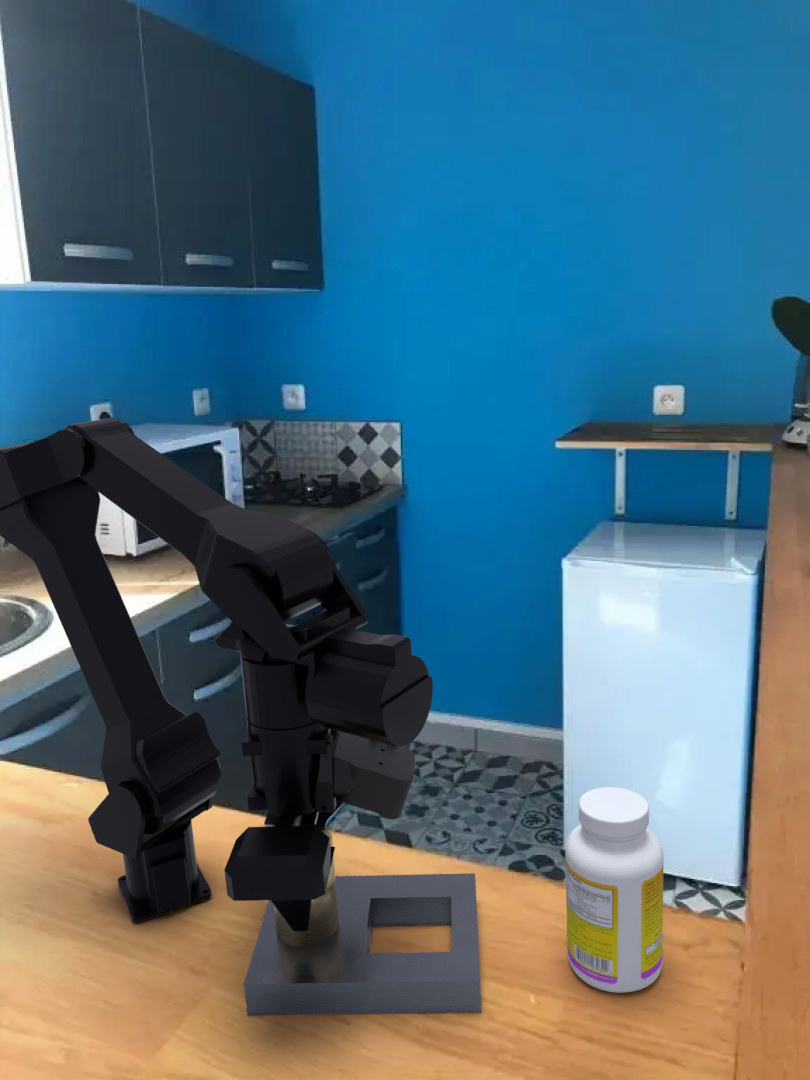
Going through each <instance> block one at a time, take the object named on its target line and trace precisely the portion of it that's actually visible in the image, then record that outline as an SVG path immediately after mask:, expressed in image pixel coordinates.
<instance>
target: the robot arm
mask: <svg viewBox="0 0 810 1080" xmlns="http://www.w3.org/2000/svg"><path fill="white" fill-rule="evenodd" d="M100 495H102V496H103V497H105V498H106V499H107V500H109V501H110V502H111V503H113V504H114V505H116V507H118V508H119V509H121V510H122V511H123V512H125V513H126V514H127V515H129V516H130V517H131V518H133V519H134V520H135V521H137V522H138V523H139V524H141V525H142V526H143V527H145V528H146V529H147V530H149V531H150V532H151V533H152V534H154V535H155V536H157V537H158V538H159V539H160V540H162V541H164V542H165V544H167V545H168V546H170V547H172V548H173V549H174V550H175V551H176V552H178V553H179V554H181V555H183V557H184V558H185V559H187V560H188V562H190V563H191V565H192V566H193V567H194V568H195V573H196V576H197V580H198V584H199V586H200V589H201V592H202V593H203V594H204V595H205V596H206V597H207V598H208V599H209V601H210V602H212V603H213V604H214V605H215V606H216V607H217V608H218V609H219V610H220V611H221V612H222V613H223V614H224V615H225V616H226V617H227V618H228V620H229V621H230V623H229V625H228V626H227V627H226V628H225V629H224V630H223V631H222V632H221V633H220V634H219V635H218V636H216V637H215V640H214V642H215V645H216V646H217V647H218V648H221V649H226V650H230V651H234V652H238V653H239V654H240V655H239V656H240V657H239V659H240V666H241V677H242V686H243V695H244V704H245V706H244V707H245V713H246V714H245V715H246V723H247V725H246V726H247V730H246V732H245V734H244V736H243V738H242V740H241V749H242V756H243V757H249V756H250V763H251V773H252V781H253V782H252V784H251V787H250V789H249V792H248V794H247V799H246V800H247V806H248V811H266V812H267V814H266V816H265V820H264V822H263V823H264V824H263V825H264V826H248V827H247V828H246V829H245V830H244V831H243V832H242V833H241V834H240V835H239V836H238V837H237V838H236V839H235V841H234V844H233V847H232V849H231V852H230V854H229V857H228V859H227V862H226V865H225V867H224V868H223V869H224V877H225V878H224V879H225V888H226V895H227V897H228V898H230V899H231V900H232V901H233V902H241V901H242V902H244V901H245V902H249V901H250V902H251V901H253V902H255V901H256V902H257V901H268V900H271V902H272V903H273V904H274V906H275V907H276V908H277V910H278V911H279V913H280V914H281V915H282V917H283V918H284V919H285V921H286V922H287V923H288V925H289V926H290V927H291V929H292V930H293V931H307V930H308V928H309V921H310V913H311V904H312V899H317V898H318V897H320V896H322V895H324V894H325V892H326V887H327V882H328V877H329V872H330V868H331V864H332V859H333V855H334V854H335V849H336V847H335V846H333V847H330V838H329V837H328V836H327V835H326V834H324V833H323V828H322V827H324V828H326V829H327V825H328V821H329V819H330V818H331V817H332V816H333V814H335V813H336V812H337V810H338V809H340V807H342V806H343V804H346V805H349V806H352V807H355V808H360V809H363V810H366V811H369V812H373V813H376V814H378V816H379V817H380V818H384V819H386V820H397V819H399V818H400V817H401V816H402V812H403V809H404V806H405V803H406V801H407V798H408V795H409V792H410V790H411V786H412V783H413V780H414V778H415V777H414V776H415V765H416V764H415V763H416V755H415V753H414V752H413V751H412V750H411V744H412V743H413V742H414V741H415V740H416V738H417V737H418V736H420V734H421V731H422V730H423V728H424V727H425V724H426V722H427V720H428V718H429V717H428V716H429V714H430V710H431V707H432V701H433V694H434V693H433V689H434V688H433V686H434V685H433V683H434V682H433V677H432V676H431V675H430V674H429V671H428V667H427V665H426V664H425V662H424V660H423V659H422V658H421V657H419V656H418V655H417V656H416V655H414V654H413V653H412V651H413V650H412V640H411V638H410V637H408V636H405V635H399V634H378V633H373V632H368V631H361V630H357V629H359V628H361V627H363V626H365V625H367V624H368V623H369V621H370V620H369V618H370V617H369V615H368V614H367V613H366V612H367V611H366V610H365V609H364V608H363V606H362V604H361V603H360V601H359V600H358V597H357V595H356V594H355V593H354V591H352V589H351V587H350V586H349V584H348V583H347V580H345V578H344V577H343V575H342V574H341V572H340V570H339V568H338V566H336V564H335V562H334V560H333V559H332V558H331V556H330V548H329V546H328V545H327V543H326V541H324V539H322V538H321V537H320V536H319V535H318V534H317V533H316V532H314V531H312V530H311V529H309V528H306V527H305V526H303V525H300V524H298V523H295V522H293V521H291V520H289V519H287V518H285V517H282V516H280V515H277V514H275V513H267V512H263V511H258V510H253V509H247V508H244V507H242V506H239V505H237V504H235V503H233V502H231V501H230V500H228V499H227V498H226V497H224V496H222V495H221V494H220V493H218V492H217V491H216V490H214V489H213V488H211V487H210V486H209V485H207V484H205V483H204V482H202V480H200V479H198V478H197V477H196V476H194V475H193V474H191V473H190V472H189V471H187V470H185V469H184V468H183V467H181V466H180V465H178V464H176V462H174V461H172V460H171V459H169V458H168V457H167V456H165V455H164V454H162V453H161V452H159V451H158V450H157V449H156V448H153V447H152V446H151V445H149V444H148V443H146V442H145V441H143V439H141V438H140V437H138V436H137V435H136V434H135V433H134V431H133V428H132V427H131V426H130V425H129V424H128V423H127V422H125V421H123V420H121V419H119V420H118V419H116V418H113V417H112V418H111V417H109V418H103V419H95V420H90V421H84V422H78V423H72V424H68V425H66V426H65V427H64V428H63V429H59V430H58V431H56V432H54V433H52V434H50V435H49V436H46V437H44V438H42V439H39V440H36V441H31V442H25V443H21V444H16V445H9V446H4V447H0V537H1V538H3V539H4V540H6V542H8V543H9V544H11V545H13V547H15V548H16V549H17V550H18V551H21V552H22V553H23V554H24V555H25V556H28V557H29V558H30V559H31V560H32V561H33V562H34V564H35V566H36V569H37V570H38V573H39V575H40V577H41V580H42V582H43V584H44V587H45V589H46V591H47V594H48V596H49V599H50V600H51V602H52V605H53V607H54V609H55V612H56V614H57V617H58V619H59V621H60V624H61V626H62V629H63V631H64V633H65V635H66V637H67V639H68V642H69V644H70V646H71V649H72V651H73V654H74V656H75V658H76V660H77V663H78V665H79V667H80V670H81V672H82V674H83V677H84V679H85V681H86V684H87V686H88V688H89V691H90V693H91V695H92V697H93V700H94V703H95V705H96V707H97V709H98V711H99V714H100V716H101V718H102V721H103V724H104V726H105V735H104V741H103V751H102V757H101V762H100V763H101V764H100V769H101V770H100V771H101V773H102V774H101V775H102V777H103V779H104V784H105V786H106V789H107V793H108V794H107V795H106V797H105V798H104V799H103V800H102V801H101V802H100V803H99V805H98V806H97V807H96V808H95V810H94V811H93V812H92V813H91V814H90V815H89V817H88V819H87V820H88V824H89V827H90V829H91V832H92V835H93V837H94V840H95V842H96V843H97V844H98V845H100V846H104V847H106V848H108V849H111V850H113V851H116V852H118V853H120V854H122V857H123V858H122V859H123V865H124V871H125V874H124V875H121V876H119V877H118V878H117V885H118V888H119V891H120V894H121V896H122V898H123V902H124V904H125V907H126V909H127V912H128V914H129V918H130V919H131V922H132V923H135V924H137V923H141V922H143V921H148V920H150V919H153V918H156V917H159V916H162V915H164V914H168V913H171V912H173V911H177V910H180V909H183V908H186V907H189V906H192V905H194V904H197V903H201V902H204V901H207V900H209V899H211V898H212V896H213V893H212V889H211V886H210V885H209V883H208V880H206V878H205V875H204V874H203V871H202V870H201V868H200V866H199V865H198V862H197V856H196V855H197V854H196V848H195V847H196V846H195V839H194V838H195V837H194V832H193V821H192V820H193V819H195V818H196V817H198V816H200V815H201V814H203V813H204V812H205V811H206V812H207V811H209V810H210V809H212V808H213V805H214V800H215V795H216V792H217V791H218V788H219V783H220V781H221V779H222V777H223V774H222V769H221V765H220V761H219V759H218V758H219V757H220V756H221V752H220V751H219V750H218V748H217V747H216V746H215V743H214V742H213V741H212V738H211V736H210V734H209V731H208V728H207V724H206V721H205V719H204V717H203V716H202V715H201V714H200V713H199V711H193V712H190V713H189V714H186V713H185V712H183V711H182V710H180V709H179V708H178V707H176V706H174V705H173V704H172V703H170V702H169V701H168V700H167V698H166V697H165V695H164V692H163V690H162V687H161V685H160V684H159V683H160V682H159V680H158V679H157V676H156V674H155V672H154V669H153V666H152V664H151V662H150V660H149V658H148V655H147V653H146V651H145V648H144V646H143V644H142V641H141V638H140V637H139V635H138V633H137V630H136V628H135V626H134V623H133V621H132V619H131V616H130V614H129V611H128V608H127V606H126V604H125V603H124V599H123V598H122V596H121V593H120V590H119V589H118V585H117V584H116V581H115V578H114V577H113V575H112V572H111V570H110V567H109V566H108V562H107V560H106V558H105V556H104V554H103V551H102V550H101V547H100V544H99V542H98V540H97V536H96V532H97V525H98V519H99V511H100V507H101V497H100ZM318 606H322V608H323V609H325V611H323V612H321V613H318V614H317V615H314V616H312V617H310V618H308V619H306V620H304V621H302V622H300V623H298V624H296V625H295V624H294V625H293V624H290V623H285V622H286V621H289V620H291V619H293V618H296V617H297V616H300V615H302V614H304V613H306V612H308V611H310V610H312V609H314V608H316V607H318ZM300 824H301V825H300ZM334 856H335V855H334Z"/></svg>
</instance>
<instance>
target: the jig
mask: <svg viewBox="0 0 810 1080" xmlns="http://www.w3.org/2000/svg"><path fill="white" fill-rule="evenodd" d="M335 880H336V892H337V904H338V917H339V926H338V929H337V931H336V932H335V933H334V935H333V936H331V937H330V938H329V939H327V940H326V941H324V942H322V943H319V944H316V945H312V946H304V947H302V946H293V945H290V944H287V943H285V942H284V941H282V940H281V939H280V938H279V937H278V935H277V931H276V921H275V911H274V904H273V903H272V902H271V900H267V903H266V907H265V910H264V914H263V917H262V921H261V924H260V928H259V931H258V935H257V938H256V942H255V945H254V948H253V953H252V955H251V959H250V962H249V966H248V969H247V973H246V976H245V979H244V983H243V988H244V998H245V1006H246V1015H247V1016H283V1015H285V1016H287V1015H288V1016H289V1015H291V1016H294V1015H295V1016H296V1015H298V1016H299V1015H358V1014H359V1015H362V1014H436V1013H437V1014H440V1013H441V1014H446V1013H451V1014H452V1013H454V1014H455V1013H457V1014H458V1013H482V1008H483V1007H482V988H481V986H482V985H481V983H482V981H481V965H480V961H481V960H480V944H479V943H480V941H479V924H478V922H479V921H478V907H477V906H478V905H477V904H478V903H477V883H476V873H473V872H472V873H471V872H470V873H467V872H466V873H439V874H438V873H431V874H430V873H429V874H425V873H424V874H423V873H421V874H382V875H381V874H380V875H375V874H374V875H370V874H369V875H335ZM397 926H399V927H403V926H404V927H405V926H407V927H409V926H411V927H413V926H451V951H422V952H421V951H419V952H418V951H417V952H416V951H415V952H413V951H411V952H371V951H370V950H371V949H370V948H371V943H372V941H371V940H372V934H373V927H397Z"/></svg>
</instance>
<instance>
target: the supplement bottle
mask: <svg viewBox="0 0 810 1080" xmlns="http://www.w3.org/2000/svg"><path fill="white" fill-rule="evenodd" d="M647 801H648V800H646V799H645V797H644V796H642V795H641V794H639V793H637V792H636V791H633V790H631V789H628V788H623V787H617V786H616V787H614V786H606V787H605V786H604V787H597V788H594V789H591V790H588V791H587V792H586V791H585V792H584V794H582V795H581V797H580V798H579V800H578V817H577V818H578V821H579V823H580V824H578V825H577V826H576V827H575V828H573V830H572V831H571V832H570V833H569V835H568V837H567V839H566V841H565V848H564V849H565V850H564V851H565V852H564V853H565V855H564V858H565V861H564V863H565V898H566V899H565V901H566V905H565V907H566V944H567V945H566V947H567V948H566V949H567V958H568V962H569V964H570V967H571V969H572V970H573V972H574V973H575V974H576V975H577V976H578V977H579V979H581V980H582V981H583V982H585V983H586V984H588V985H589V986H591V987H594V989H595V988H596V989H598V990H601V991H604V992H609V993H617V994H618V993H631V992H636V991H641V990H642V989H645V988H647V987H648V986H650V985H651V984H652V983H654V982H655V981H656V980H657V978H658V977H659V975H660V974H661V971H662V966H663V956H664V953H663V951H664V850H663V845H662V843H661V842H660V840H659V838H658V837H657V836H656V834H655V833H654V832H653V831H652V830H651V829H649V828H648V826H649V823H650V806H649V803H648V802H647Z"/></svg>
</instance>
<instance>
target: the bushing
mask: <svg viewBox="0 0 810 1080" xmlns="http://www.w3.org/2000/svg"><path fill="white" fill-rule="evenodd" d="M300 825H301V824H300ZM322 828H323V833H324V834H326V835H327V836H328V837H329V838H330V847H334V843H333V837H332V836H333V835H332V833H331V832H330V831H329V829H327V827H326V828H324V827H322ZM334 857H335V855H333V859H332V864H331V868H330V872H329V877H328V882H327V887H326V892H325V894H324V895H322V896H320V897H318V898H317V899H312V904H311V913H310V921H309V928H308V930H307V931H293V930H292V929H291V927H290V926H289V925H288V923H287V922H286V921H285V919H284V918H283V917H282V915H281V914H280V913H279V911H278V910H277V908H276V907H275V906H274V911H275V921H276V931H277V935H278V937H279V938H280V939H281V940H282V941H284V942H285V943H287V944H290V945H293V946H302V947H304V946H312V945H316V944H319V943H322V942H324V941H326V940H327V939H329V938H330V937H331V936H333V935H334V933H335V932H336V931H337V929H338V926H339V917H338V904H337V892H336V880H335V876H336V871H335V870H336V868H335V858H334Z"/></svg>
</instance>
